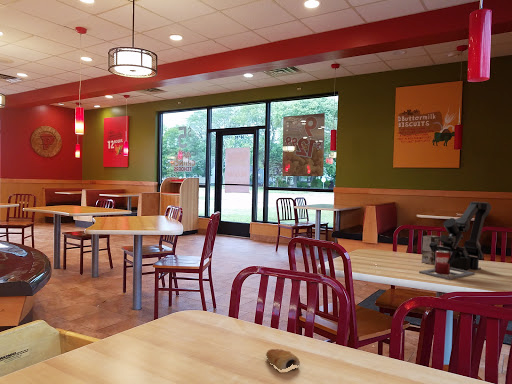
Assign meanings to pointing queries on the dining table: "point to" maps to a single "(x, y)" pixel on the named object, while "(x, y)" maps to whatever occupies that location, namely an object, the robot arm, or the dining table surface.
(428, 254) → the coffee box
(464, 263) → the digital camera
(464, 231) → the robot arm
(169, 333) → the dining table surface
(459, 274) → the label frame
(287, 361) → the pastry
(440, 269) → the soda can
